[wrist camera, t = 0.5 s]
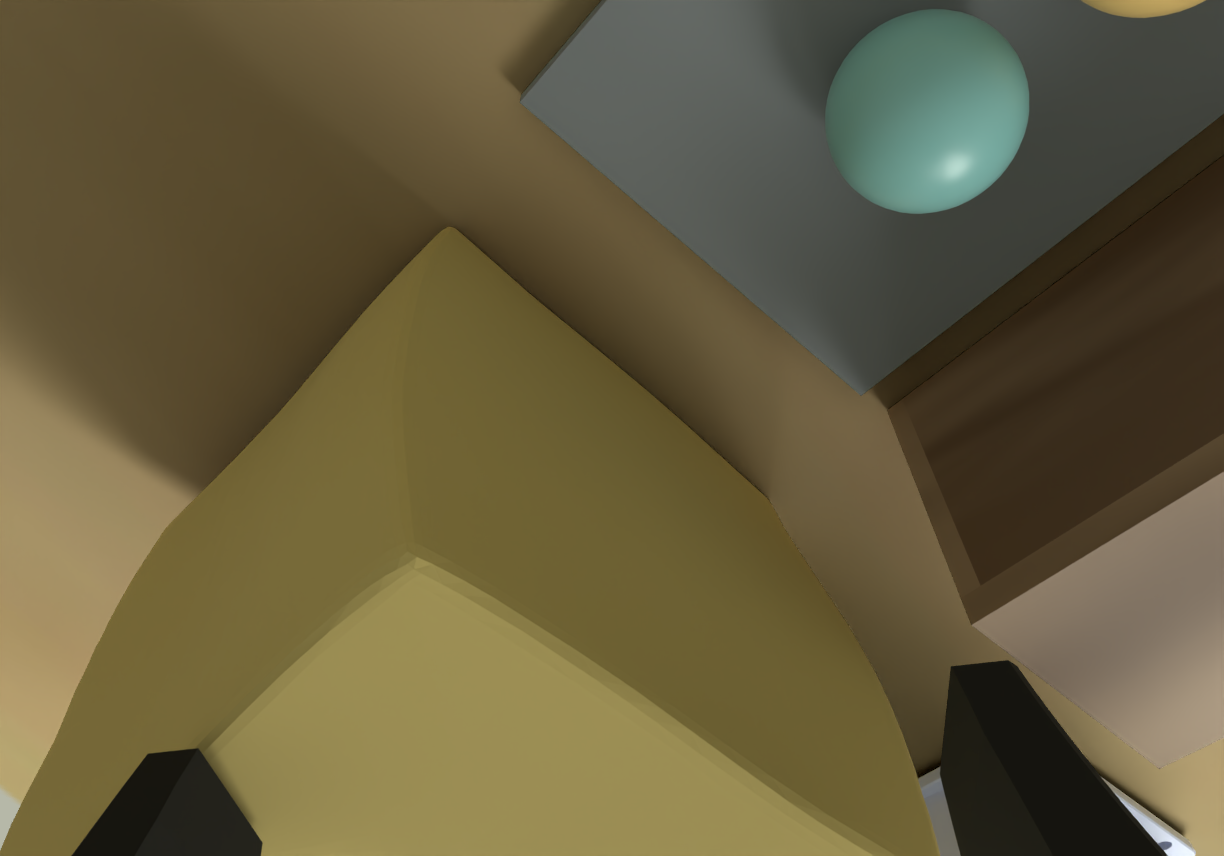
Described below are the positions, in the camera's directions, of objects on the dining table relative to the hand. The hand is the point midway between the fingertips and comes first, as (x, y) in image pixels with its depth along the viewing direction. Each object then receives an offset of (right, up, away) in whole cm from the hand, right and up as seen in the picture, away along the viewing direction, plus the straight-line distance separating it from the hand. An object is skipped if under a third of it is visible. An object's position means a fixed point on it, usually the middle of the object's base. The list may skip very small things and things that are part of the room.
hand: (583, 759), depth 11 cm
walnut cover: (+12, +6, +9) cm, 16 cm away
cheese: (-3, +2, +11) cm, 11 cm away
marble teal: (+5, +10, +5) cm, 12 cm away
